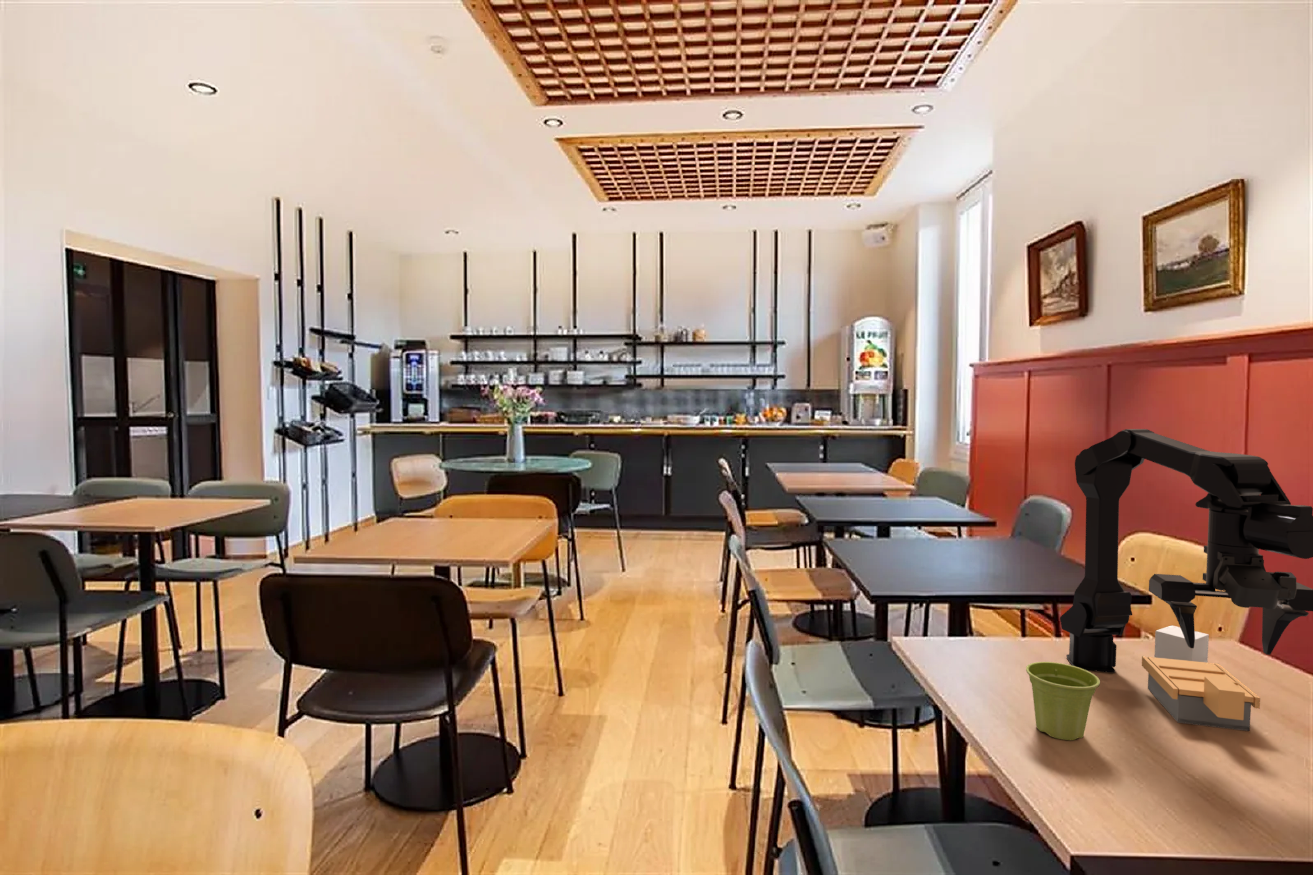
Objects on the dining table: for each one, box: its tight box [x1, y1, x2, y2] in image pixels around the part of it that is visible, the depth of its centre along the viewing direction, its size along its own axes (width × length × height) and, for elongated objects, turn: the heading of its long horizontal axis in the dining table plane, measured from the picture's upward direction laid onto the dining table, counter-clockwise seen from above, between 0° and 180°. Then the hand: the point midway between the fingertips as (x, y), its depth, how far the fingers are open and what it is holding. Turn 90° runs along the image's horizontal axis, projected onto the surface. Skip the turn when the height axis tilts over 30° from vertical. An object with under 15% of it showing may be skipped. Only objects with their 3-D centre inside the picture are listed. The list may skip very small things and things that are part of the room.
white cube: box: [1153, 625, 1210, 663], centre depth 131 cm, size 6×6×6 cm
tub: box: [1147, 672, 1252, 732], centre depth 112 cm, size 9×13×4 cm
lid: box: [1141, 655, 1261, 720], centre depth 110 cm, size 11×19×4 cm, turn 162°
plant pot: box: [1025, 661, 1101, 741], centre depth 105 cm, size 9×9×9 cm
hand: (1228, 650), depth 103 cm, fingers open, 9 cm apart
